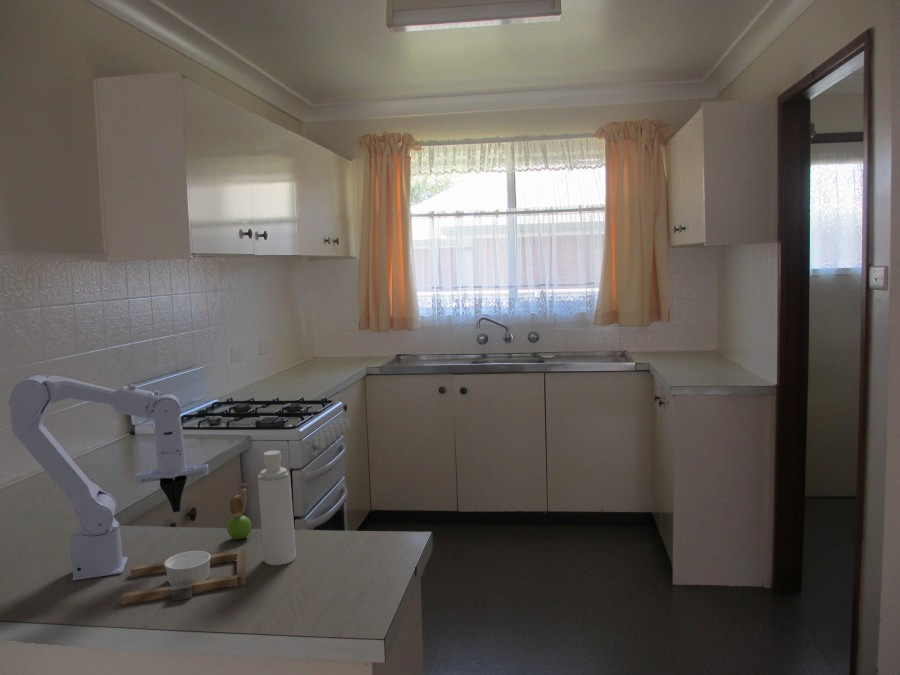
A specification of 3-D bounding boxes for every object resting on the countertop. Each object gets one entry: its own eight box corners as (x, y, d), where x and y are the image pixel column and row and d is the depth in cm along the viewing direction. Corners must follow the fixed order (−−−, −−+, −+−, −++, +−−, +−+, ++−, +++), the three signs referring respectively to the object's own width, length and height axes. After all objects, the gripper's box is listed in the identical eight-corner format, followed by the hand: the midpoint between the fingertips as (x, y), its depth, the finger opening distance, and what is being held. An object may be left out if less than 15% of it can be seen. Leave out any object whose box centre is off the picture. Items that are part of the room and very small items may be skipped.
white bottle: (302, 555, 155) (294, 442, 152) (280, 567, 149) (271, 450, 147) (279, 550, 159) (271, 439, 156) (257, 562, 153) (248, 447, 150)
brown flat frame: (119, 610, 134) (118, 598, 134) (133, 570, 152) (132, 560, 151) (245, 589, 140) (244, 578, 140) (245, 553, 158) (244, 543, 158)
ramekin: (197, 566, 152) (195, 546, 152) (221, 576, 147) (219, 556, 146) (157, 582, 146) (155, 561, 145) (181, 593, 140) (179, 572, 140)
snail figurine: (259, 532, 169) (255, 483, 168) (244, 543, 163) (240, 492, 162) (238, 531, 171) (234, 482, 170) (223, 542, 165) (219, 491, 163)
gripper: (131, 459, 149) (138, 521, 151) (204, 450, 153) (210, 511, 155) (136, 450, 156) (142, 510, 158) (206, 442, 160) (212, 501, 162)
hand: (176, 510), depth 157 cm, fingers closed
